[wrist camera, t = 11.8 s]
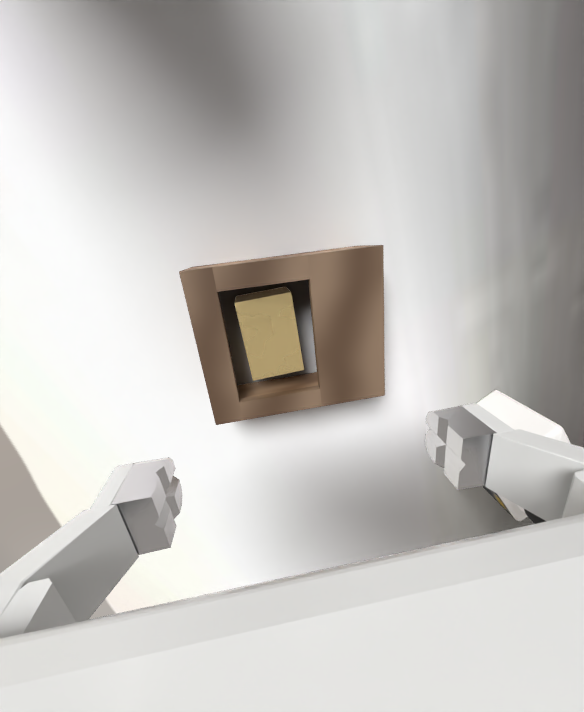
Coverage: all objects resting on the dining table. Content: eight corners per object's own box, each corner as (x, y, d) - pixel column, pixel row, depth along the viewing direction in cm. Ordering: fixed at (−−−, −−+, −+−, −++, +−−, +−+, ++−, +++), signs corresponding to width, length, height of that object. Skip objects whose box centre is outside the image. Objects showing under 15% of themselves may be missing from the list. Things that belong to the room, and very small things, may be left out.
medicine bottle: (436, 429, 31) (542, 531, 20) (495, 387, 30) (639, 468, 19) (465, 469, 34) (574, 580, 22) (520, 431, 33) (661, 526, 22)
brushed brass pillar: (285, 286, 24) (291, 292, 21) (297, 354, 26) (304, 369, 23) (236, 295, 24) (234, 302, 21) (252, 364, 26) (253, 380, 23)
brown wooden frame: (358, 245, 24) (383, 245, 20) (363, 372, 28) (384, 395, 23) (191, 267, 23) (179, 271, 18) (221, 396, 27) (215, 424, 22)
